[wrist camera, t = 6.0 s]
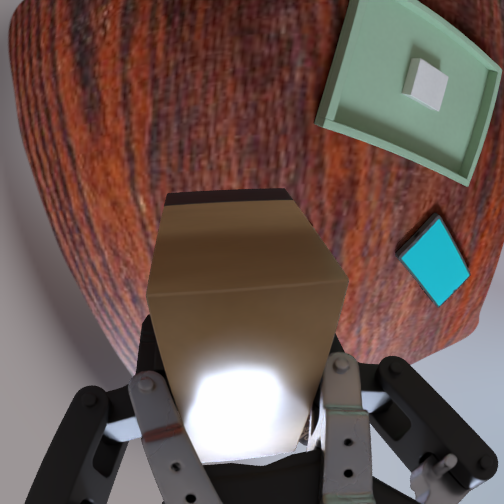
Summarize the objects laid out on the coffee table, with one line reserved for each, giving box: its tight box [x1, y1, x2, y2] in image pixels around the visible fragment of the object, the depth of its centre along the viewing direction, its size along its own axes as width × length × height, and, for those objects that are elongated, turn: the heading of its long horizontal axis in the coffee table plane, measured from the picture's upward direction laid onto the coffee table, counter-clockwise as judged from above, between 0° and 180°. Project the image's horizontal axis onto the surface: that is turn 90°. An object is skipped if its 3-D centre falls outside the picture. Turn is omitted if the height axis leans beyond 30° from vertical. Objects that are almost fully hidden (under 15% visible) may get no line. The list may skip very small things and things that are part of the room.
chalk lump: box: [402, 58, 449, 112], centre depth 22 cm, size 4×4×2 cm
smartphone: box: [395, 213, 471, 308], centre depth 36 cm, size 7×1×15 cm
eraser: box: [146, 188, 349, 463], centre depth 12 cm, size 10×4×6 cm, turn 179°
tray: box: [314, 0, 502, 187], centre depth 23 cm, size 16×20×2 cm
